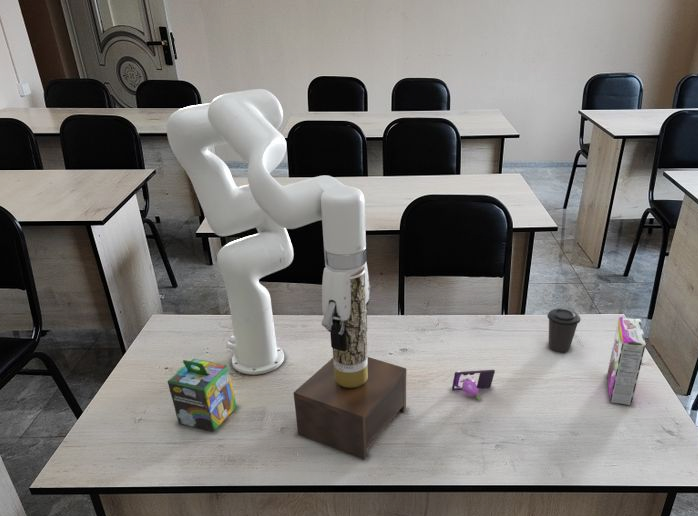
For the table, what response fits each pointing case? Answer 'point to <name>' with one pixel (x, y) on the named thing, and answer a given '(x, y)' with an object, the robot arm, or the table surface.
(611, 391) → the candy bar box
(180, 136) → the robot arm
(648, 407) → the table surface
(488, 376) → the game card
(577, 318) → the coffee cup
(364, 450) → the walnut storage box
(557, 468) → the table surface
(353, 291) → the paper tube
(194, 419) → the chalk box
